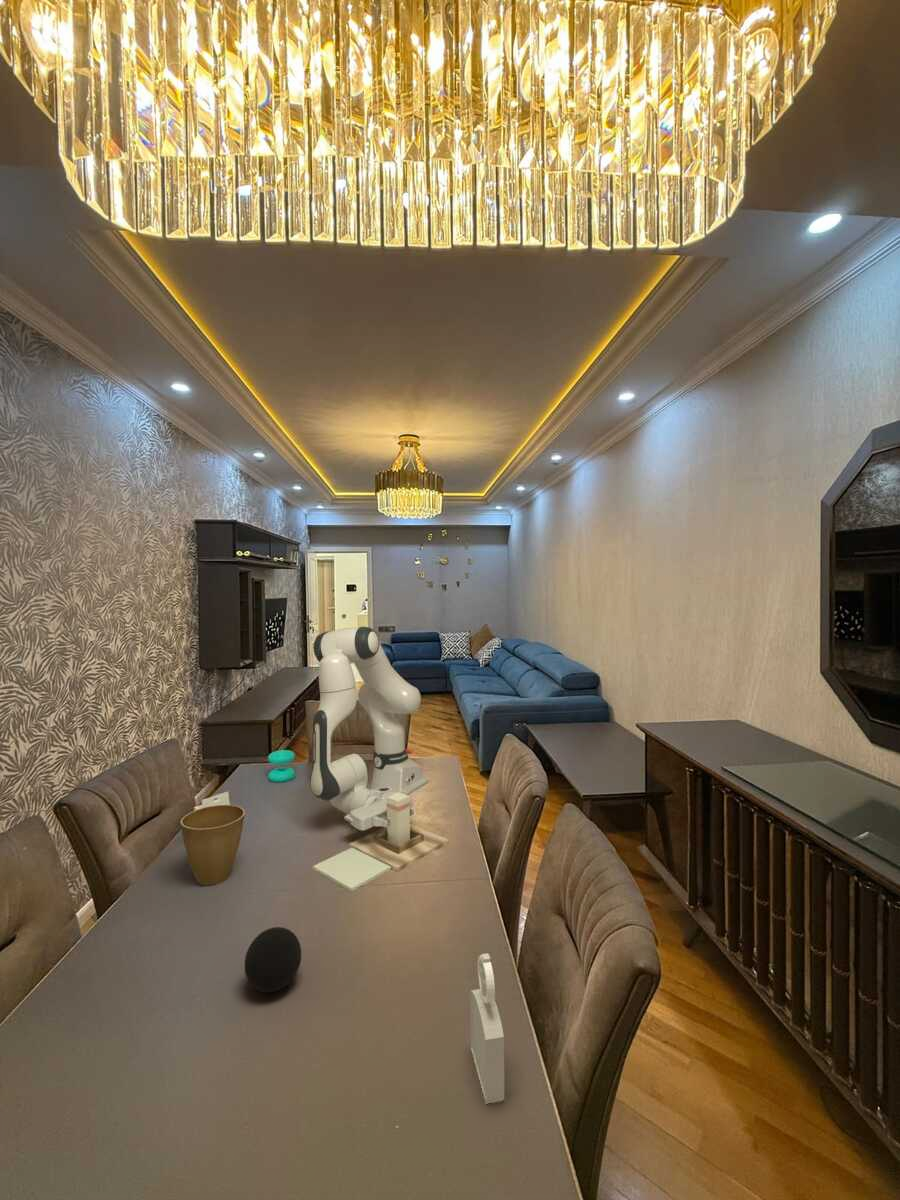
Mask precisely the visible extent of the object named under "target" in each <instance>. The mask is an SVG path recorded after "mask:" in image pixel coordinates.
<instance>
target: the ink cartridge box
mask: <svg viewBox="0 0 900 1200" xmlns="http://www.w3.org/2000/svg"><path fill="white" fill-rule="evenodd" d="M215 805H231V801H230V795H229V791H225V792H222V793H218V794H215V795H213V796H210V797H207V798H204V799H202V800H201V805H198V806H194V807H193V811H195V810H198V809H201V808H205V807H209V806H215Z"/></svg>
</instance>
